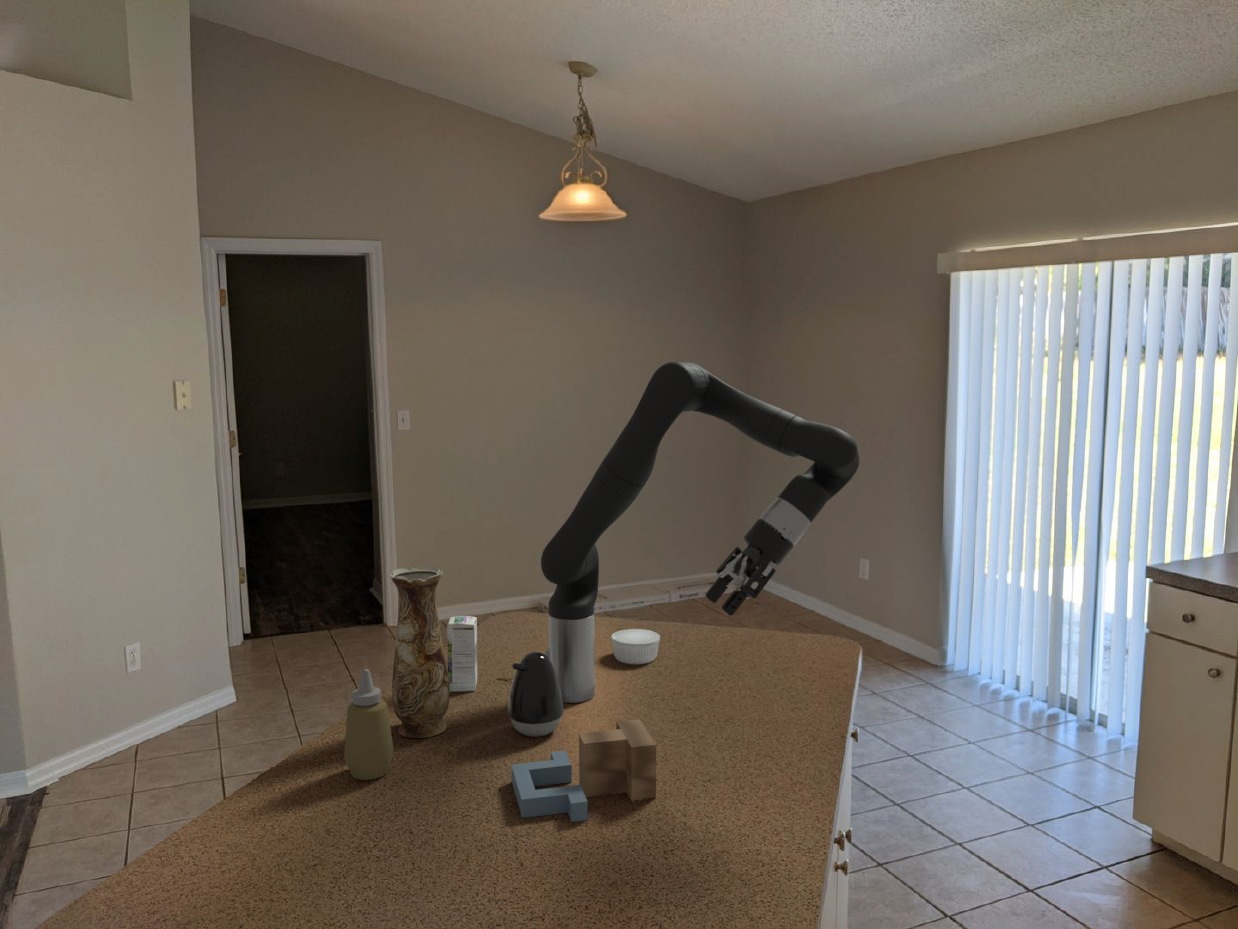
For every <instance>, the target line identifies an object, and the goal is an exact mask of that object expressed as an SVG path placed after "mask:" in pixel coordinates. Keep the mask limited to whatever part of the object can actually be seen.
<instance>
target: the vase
mask: <svg viewBox="0 0 1238 929" xmlns="http://www.w3.org/2000/svg"><path fill="white" fill-rule="evenodd" d="M443 574H444V572H443V570H441V568H438V567H436V566H435V567H434V566H425V567H423V568H422V569H420V568H417V567H413V568H411V569H410V570H408V569H407V568H397V569H394V570H392V571H391V573H390V574H389V577H390V579H391V581H392V582H393V584H394V585H395V587H396V589H397V592H398V606H397V610H398V611H397V623H396V635H395V636H396V637H395V638H396V639H395V646H394V647H395V648H394V660H393V671H392V679H391V680H392V684H391V686H392V687H391V693H392V694H391V695H392V696H391V698H392V707H393V711H394V714H395V716H396V717H397V718H398V719H399V721H401V724H400V726H399V728H398V734H399V735H401V737H405V738H408V739H425V738H431V737H434V736H437V735H441V733H443V732H445V731H446V729H447V724H446V722H445V721H444V718H443V717H444V716H445V715H446V714H447V711H448V710H449V705H450V692H449V679H448V665H447V662H446V656H445V650H444V643H443V639H442V638H443V637H442V634H441V633H442V632H441V627H440V621H439V613H438V612H439V611H438V606H437V599H436V596H437V595H436V590H437V586H438V584H439V582H440V580H441V578H442V576H443Z"/></svg>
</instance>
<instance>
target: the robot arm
mask: <svg viewBox="0 0 1238 929" xmlns="http://www.w3.org/2000/svg"><path fill="white" fill-rule="evenodd" d="M692 411H693V412H698V413H702V414H704V415H705V414H706V415H707V416H708V415H709V416H711V417H715V418H717V419H719V420H722V421H724V422H726V423H728V424H729V425H731V426H732V427H735V428H736V429H737V430H739V431H740V432H741V433H743V434H744V435H746V436H747V437H748V438H750V439H751V440H753V441H755V442H757V443H759V444H761V445H763V446H765V447H767V448H770V449H772V450H774V451H776V452H778V453H780V454H783V455H785V456H789V457H792V458H794V457H798V456H799V457H802V458H804V459H808V460H810V461H812V462H813V463H812V465H810V467H808V469H807V470H806V471H805V472H804V473H803V474H797V475H796V476H794V477H793V478H792V479H791V480H790V481H789V482H788V483H787V485H786V486H785V487H784V489H783V490H782V491H781V493H780V494H778V496H777V497H776V499H774V500H773V502H772V503H770V505H768V507H766V509H765V510H764V511H763V513H762V514H761V515H760V516H759V518H758V519H757V520H756V521H755V523H753V525H752V526H751V528H750V529H749V530H748V531H747V533H746V534H745V535H743V539H744V540H743V541H744V542H745V543H746V544H747V547H746V548H744V550H743V549H742V548H740V547H739V546H736V547H735V548H734V549H733V550H732V552H731V553H730V554H729V555H728V556H727V557H726V559H724V561H723V562H722V563H721V565H720V566H719V567H718V568H717V569H716V570H715V572H716V574H717V576H716V578H717V579H716V580H715V581H714V582H713V584H712V585H711V586H710V587H709V589H708V590H707V591H706V593H705V597H706V598H707V599H708V600H709V601H710V602H712V603H713V604H715V603H717V602H718V601H719V599H720V598H721V597H722V595H723V594H724V593H725V592H726V590H728V588H729V586H730V585H732V584H734V583H735V582H738V583H737V585H736V587H735V589H734V590H733V591H732V592H731V594H730V595H729V596H728V597H727V599H726V600H725V601H724V603H723V604H722V605H721V609H722V611H724V612H725V613H726V614H727V615H729V616H734V614H735V613H736V611H738V609H739V608H740V606H742V604H743V603H744V602H745V600H749V599H750V598H752V599H753V600H754V599H756V598H757V597H758V596H759V594H760V593H761V592H762V591H763V589H764V588H765V587H766V586H767V583H768V582H769V581H770V579H771V578H772V577H773V576H774V574H775V573H776V569H775V568H774V567H773V566H772V565H771V564H773V565H774V566H779V565H781V563H782V562H783V561H784V560H785V559H786V557H787V556H788V554H789V553H791V551H792V549H793V548H794V547H795V546H796V545H797V544H798V542H799V541H800V540H801V539H802V537H803V535H804V534H805V533H806V531H807V529H808V528H809V526H810V525H811V523H812V522H813V521H814V520H815V518H816V517H817V516H818V515H819V513H820V512H821V511H822V510H823V508H824V507H825V505H826V504H827V502H828V501H830V500H831V499H832V498H834V496H836V495H837V494H838V493H839V492H840V491H841V490H842V489H843V488H844V487H845V486H846V485H847V484H848V483H849V482H850V481H851V480H852V478H853V477H854V476H855V475H856V473H857V471H858V469H859V466H860V454H859V450H858V444H857V442H856V440H855V438H853V436H851V435H850V434H849V433H848V432H846V431H844V430H842V429H840V428H838V427H835V426H832V425H829V424H825V423H820V422H817V421H812V420H811V421H810V420H806V419H804V418H802V417H800V416H798V415H797V414H794V413H792V412H789V411H787V410H784V409H782V408H780V407H778V406H775V405H773V404H771V403H767V402H765V401H763V400H761V399H758V398H755V397H753V396H750V395H748V394H747V393H745V392H742V391H740V390H739V389H737V388H735V387H733V386H731V385H729V384H728V383H726V382H724V381H723V380H722V379H720V378H718V377H717V376H715V375H714V374H712V373H711V372H710V371H707V370H706V369H705V368H703V367H702V366H700V365H698V364H697V363H695V362H691V361H678V360H677V361H676V360H675V361H670V362H666V363H664V364H663V365H661V366H659V367H658V368H657V369H656V370H655V372H654V373H653V374H652V376H651V378H650V380H649V381H648V384H647V386H646V387H645V390H644V392H643V394H642V395H641V398H640V400H639V402H638V404H637V406H636V408H635V410H634V412H633V414H632V415H631V417H630V419H629V421H628V422H627V423H626V425H625V427H624V428H623V430H622V431H621V433H620V434H619V436H618V437H617V439H616V440H615V442H614V443H613V445H612V446H611V448H610V450H609V451H608V452H607V454H606V455H605V456H604V458H603V460H602V462H601V463H600V464H599V466H598V468H597V470H596V471H595V473H594V475H593V476H592V479H590V482H589V483H588V485H587V486H586V488H585V490H584V491H583V492H582V495H581V496H580V498H579V499H578V502H577V503H576V505H575V507H574V508H573V510H572V512H571V513H570V515H568V518H567V519H566V520H565V522H564V523H563V524H562V526H561V527H560V528H559V529H558V530H557V532H556V533H555V534H554V536H553V537H552V538H551V539H550V540H549V541H548V543H547V544H546V546H545V547H544V549H543V550H542V553H541V558H540V566H541V570H542V574H543V576H544V578H545V579H546V580H547V581H549V582H550V583H552V584H554V585H556V587H555V590H554V592H553V593H552V596H551V597H550V598H549V600H548V605H547V606H548V607H547V608H548V647H547V648H546V649H545V651H544V654H545V655H546V656H547V657H548V658H549V660H550V661H551V663H552V665H553V667H554V669H555V672H556V675H557V677H558V681H559V684H560V688H561V693H562V699H563V703H564V704H565V703H567V704H568V703H569V704H571V703H572V704H574V703H575V704H576V703H583V702H587V701H589V700H591V699H592V698H594V696H595V604H596V601H597V599H598V593H599V572H600V560H599V551H598V549H597V546H596V543H597V541H598V540H599V539H600V538H601V536H602V535H603V534H604V533H605V531H607V529H608V528H610V527H611V526H612V524H614V523H615V522H616V521H617V520H618V519H619V518H620V517H621V516H622V515H623V514H624V513H625V512H626V511H627V510H628V509H629V508H630V506H631V505H632V504H633V503H634V502H635V501H636V499H637V497H638V496H639V494H640V492H641V491H642V490H643V488H644V487H645V486H646V484H647V482H648V481H649V478H650V477H651V474H652V472H653V470H654V466H655V464H656V457H657V454H658V450H659V447H660V444H661V442H662V440H663V438H664V437H665V435H666V433H667V432H668V431H669V429H670V428H671V427H672V425H673V423H675V421H676V420H677V419H678V418H679V416H680V415H681V414H682V413H685V412H692Z"/></svg>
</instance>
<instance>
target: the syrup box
mask: <svg viewBox="0 0 1238 929" xmlns="http://www.w3.org/2000/svg"><path fill="white" fill-rule="evenodd" d="M447 623H448V624H447V626H446V627H447V628H446V629H447V630H446V634H447V635H446V636H447V638H446V640H447V643H446V644H447V650H446V652H447V672H448V679H449V693H451V692H452V693H455V692H456V693H457V692H458V693H459V692H475V691H476V688H477V683H478V617H476V616H468V615H467V616H466V615H459V616H457V615H456V616H451V617H450V618H449V620H448V622H447Z"/></svg>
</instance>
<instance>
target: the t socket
mask: <svg viewBox="0 0 1238 929" xmlns="http://www.w3.org/2000/svg"><path fill="white" fill-rule="evenodd" d="M510 767H511V768H510V769H511V785H512V788H513V790H514V791H513V792H514V794H515V795H514V796H515V799H516V802H517V807H518V809H519V812H520V813H519V814H520V817H521V819H525V818H534V817H541V816H548V815H549V816H551V815H558V814H565V813H567V814H568V817H569V819H570V822H571V823H575V822H577V823H578V822H583V821H588V820H589V817H588V816H589V815H588V813H589V812H588V811H589V808H588V806H589V805H588V804H589V803H588V799H587V797H585V795H584V792H583V790H582V788H581V785H579V784H575V785H567V786H558V787H548V788H541V789H536V787H541V786H550V785H560V784H567V783H572V782H573V780H572V779H573V775H572V774H573V773H572V772H573V771H572V770H573V769H572V768H573V765H572V763H571V761H570V758H569V756H568V753H567V751H566V750H557V751H551V752H550V760H542V761H540V760H539V761H531V762H523V763H522V762H521V763H514V764H513V763H512V764H511V766H510Z"/></svg>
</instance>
